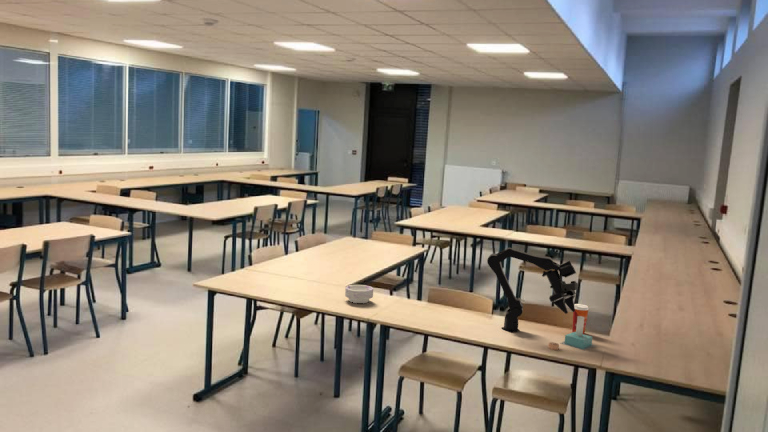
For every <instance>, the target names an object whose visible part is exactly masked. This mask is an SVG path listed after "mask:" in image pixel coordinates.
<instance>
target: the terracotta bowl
mask: <svg viewBox="0 0 768 432" xmlns="http://www.w3.org/2000/svg"><path fill="white" fill-rule="evenodd" d="M559 348H560V343H557V342H553V341H551V342H548V349H549V350H552V351H558V350H559Z"/></svg>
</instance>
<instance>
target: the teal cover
mask: <svg viewBox="0 0 768 432" xmlns="http://www.w3.org/2000/svg"><path fill="white" fill-rule="evenodd" d="M583 326H584V317H582V316H578V317H577V326H576V332H570V333H568V334H567V333H566V334H565V335H564V341H565V343H564V344H568V345H571V346H574V347H578V348H581V349H584V348H586V347H588V346H591V345H592V344H593V336H592V335H589V334H588V335H587V334H585V333H584V334H583ZM564 344H563V345H564ZM574 347H573V348H574Z"/></svg>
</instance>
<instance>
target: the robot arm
mask: <svg viewBox="0 0 768 432" xmlns="http://www.w3.org/2000/svg"><path fill="white" fill-rule="evenodd" d="M508 258H513V259H516V260H520V261H523V262H526V263H530V264H533V265H534V266H537V267H538V268H540V269H543V272H542V275H541V276H542V277H543V278H544V277H546V278H547V279H548V282H549V284H550V286H549V287H550V289H552V291H553V294H551V295H549V298H548V299H549V301H550V303H552V304H554V305H555V306H556V307H558V309H560V310H561V311H562V312H563V313H564V314H565V315H566V314H569V312H568V309H567V307H568V308H569V309H570V310H571V312H572V313H573V312H574V311H575V307H574V304H575V302H574V299H575V297H576V295H577V294H576V291H577V290H579V288H578V287H579V284H578V282H577V281H576V280H572V281H570V282H569V283H566V281H565V280H564V281H563V280H562V279H563V278H565V279H566V278H568V277H570V276H571V277H572V276H573V275H576V274H577V272H576V270H575V268H574V265H573V264H572V262H571V260H570V259H569V260H567V261H565V262H563V263H561V264H560V263H558V262H555V261H554V260H553V258H552V257H550V256H544V255H535V254H532V253H527V252H525V251H521V250H518V249H515V248H512V247H506V249H504V250H500V251H499V252H497V253H493V252H492V253H490V254H489V256H488V258H487V260H486V261H487V264H488V266H489V268H490V270H492V272H493V273H494V275H495V276H496V278H497V280H498V282H499V284H500V286H501V288H502V291H503V293H504V295H505V297H506V299H507V304H508V307H509V308H508V309H506V311H505V316H504V321H503V322H504V324H503V327H501V329H502V330H503V331H507V332H509V333H515V332H520V328H519V318H518V317H520V316H522V314H523V309H524V304H523V302H522V300H521V298H520V297H518V298H517V296H516V295H515V293H514V291H513V289H512V287H511V285H510V283H509V280H508V278H507V276H506V274H505V271H504V269H503V265H502V262H503V261H505V260H506V259H508Z"/></svg>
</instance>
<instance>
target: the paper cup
mask: <svg viewBox="0 0 768 432" xmlns="http://www.w3.org/2000/svg"><path fill="white" fill-rule="evenodd" d="M574 307H575V311H574V312H573V311H572V327H571V328H572V332H576V326H577V317H578V316H582V317H584V326H583V334H584V335H585V331H586V326H587V321H588V314H589V311H590V308H589V306H588V305H586V304H582V303H574ZM572 332H571V333H572Z"/></svg>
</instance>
